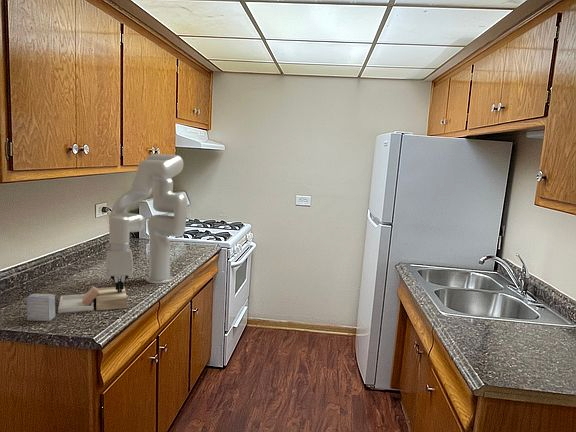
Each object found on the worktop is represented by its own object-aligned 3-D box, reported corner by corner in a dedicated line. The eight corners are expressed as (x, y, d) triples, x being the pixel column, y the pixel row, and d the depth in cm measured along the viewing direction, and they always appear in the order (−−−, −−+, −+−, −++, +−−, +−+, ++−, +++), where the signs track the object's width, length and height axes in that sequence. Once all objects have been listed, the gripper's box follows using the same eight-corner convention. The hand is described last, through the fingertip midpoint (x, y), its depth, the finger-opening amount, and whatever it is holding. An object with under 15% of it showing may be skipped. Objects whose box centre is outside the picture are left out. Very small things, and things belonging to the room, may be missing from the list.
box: (60, 300, 177) (60, 295, 177) (93, 297, 182) (93, 293, 182) (58, 313, 163) (58, 309, 163) (93, 310, 168) (93, 306, 168)
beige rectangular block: (96, 297, 183) (96, 288, 182) (124, 295, 187) (124, 286, 187) (96, 310, 168) (96, 300, 168) (127, 308, 173) (127, 298, 172)
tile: (87, 301, 177) (82, 297, 176) (98, 289, 178) (93, 285, 177) (87, 305, 172) (82, 302, 171) (98, 293, 173) (93, 290, 172)
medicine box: (55, 317, 160) (55, 294, 159) (49, 321, 155) (49, 297, 154) (33, 316, 159) (33, 293, 158) (26, 320, 155) (26, 297, 154)
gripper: (99, 249, 170) (99, 295, 172) (140, 248, 176) (139, 292, 178) (99, 245, 177) (99, 289, 179) (138, 244, 182) (138, 287, 185)
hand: (119, 291), depth 179 cm, fingers closed
